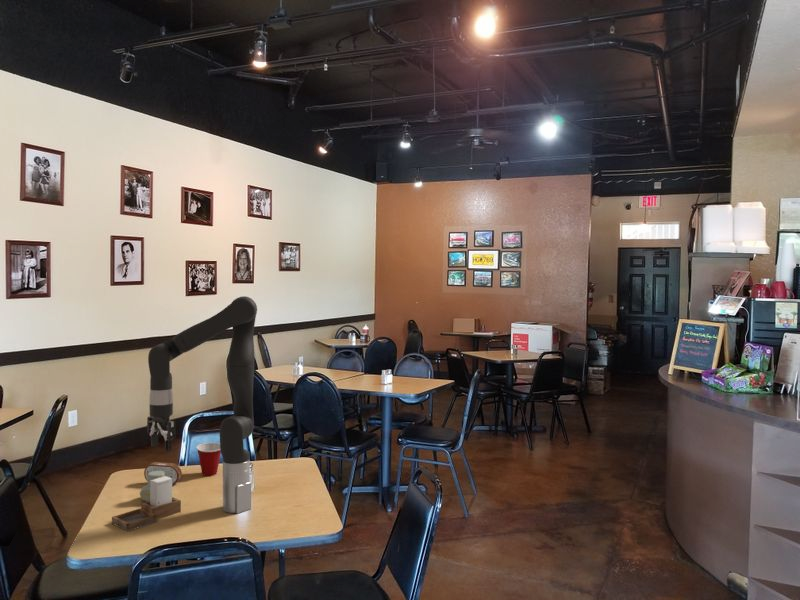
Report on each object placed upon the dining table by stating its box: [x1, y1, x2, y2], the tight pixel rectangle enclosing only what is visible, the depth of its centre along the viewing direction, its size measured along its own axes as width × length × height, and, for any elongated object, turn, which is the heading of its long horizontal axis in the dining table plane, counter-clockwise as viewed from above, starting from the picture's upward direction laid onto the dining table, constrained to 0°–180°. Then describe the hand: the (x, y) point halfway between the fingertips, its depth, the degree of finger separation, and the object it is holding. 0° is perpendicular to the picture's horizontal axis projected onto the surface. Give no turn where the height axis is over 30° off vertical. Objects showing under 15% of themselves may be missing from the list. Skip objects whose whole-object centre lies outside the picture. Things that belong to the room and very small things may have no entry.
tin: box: [143, 461, 183, 486], centre depth 238 cm, size 15×3×8 cm, turn 81°
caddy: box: [111, 496, 182, 532], centre depth 203 cm, size 10×20×4 cm, turn 143°
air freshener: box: [139, 471, 165, 502], centre depth 221 cm, size 11×8×10 cm
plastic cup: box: [195, 442, 222, 477], centre depth 250 cm, size 11×11×12 cm
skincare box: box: [150, 476, 173, 507], centre depth 208 cm, size 6×4×12 cm
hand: (161, 448), depth 207 cm, fingers open, 8 cm apart
